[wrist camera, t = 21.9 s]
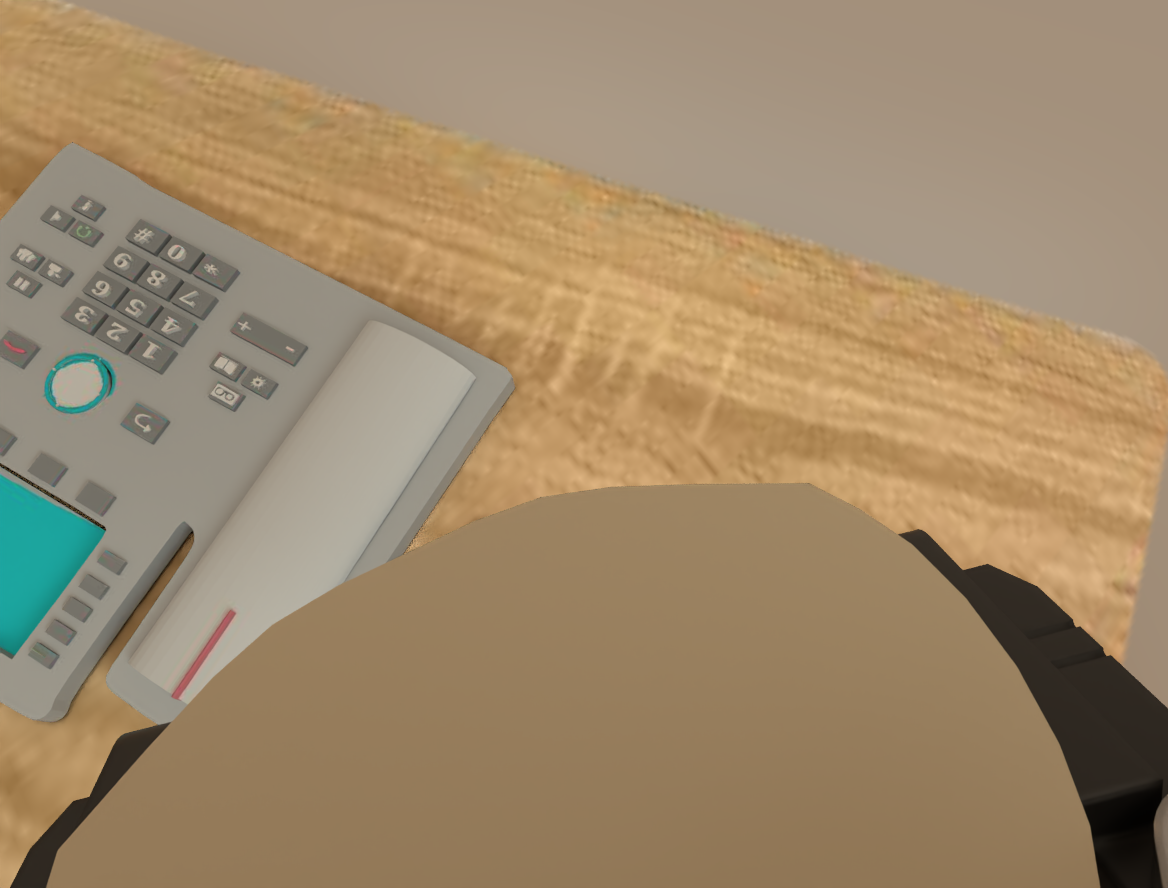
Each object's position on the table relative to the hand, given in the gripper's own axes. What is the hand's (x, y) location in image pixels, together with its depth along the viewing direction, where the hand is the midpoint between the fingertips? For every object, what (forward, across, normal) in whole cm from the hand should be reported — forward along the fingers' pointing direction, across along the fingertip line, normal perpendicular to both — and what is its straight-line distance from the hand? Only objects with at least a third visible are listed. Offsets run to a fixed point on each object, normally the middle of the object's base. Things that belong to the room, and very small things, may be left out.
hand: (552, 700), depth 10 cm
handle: (+7, 0, -9) cm, 12 cm away
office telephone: (+29, -15, -6) cm, 34 cm away
